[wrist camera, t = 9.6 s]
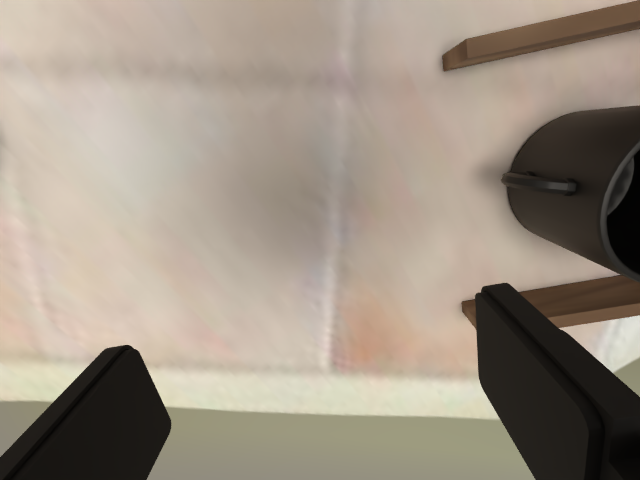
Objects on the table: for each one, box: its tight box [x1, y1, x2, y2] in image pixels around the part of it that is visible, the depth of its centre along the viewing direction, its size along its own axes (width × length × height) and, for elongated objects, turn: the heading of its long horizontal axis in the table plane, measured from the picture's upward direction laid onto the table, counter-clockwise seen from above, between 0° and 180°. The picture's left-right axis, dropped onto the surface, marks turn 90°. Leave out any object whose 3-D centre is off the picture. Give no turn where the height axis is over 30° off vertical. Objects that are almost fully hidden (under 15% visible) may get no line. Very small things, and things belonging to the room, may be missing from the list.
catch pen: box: [443, 0, 640, 330], centre depth 23 cm, size 20×15×4 cm
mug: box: [501, 106, 640, 282], centre depth 20 cm, size 9×12×9 cm
